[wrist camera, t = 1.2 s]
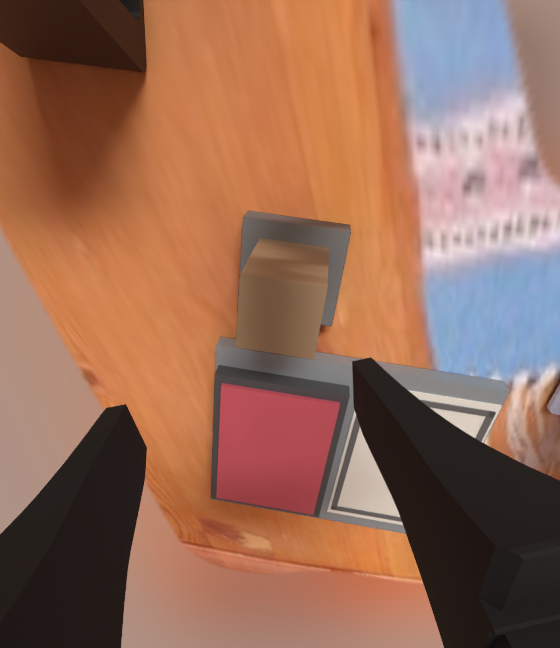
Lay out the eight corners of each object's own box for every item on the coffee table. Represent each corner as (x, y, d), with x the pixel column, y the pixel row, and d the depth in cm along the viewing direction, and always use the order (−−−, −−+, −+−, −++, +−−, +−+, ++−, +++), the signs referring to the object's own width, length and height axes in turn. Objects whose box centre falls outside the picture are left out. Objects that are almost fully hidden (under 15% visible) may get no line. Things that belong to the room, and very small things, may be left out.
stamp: (349, 224, 21) (356, 268, 15) (331, 314, 24) (331, 379, 18) (248, 210, 21) (218, 247, 16) (242, 300, 24) (214, 360, 18)
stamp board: (503, 381, 24) (519, 405, 22) (431, 526, 32) (437, 555, 30) (220, 336, 25) (210, 356, 23) (214, 488, 33) (206, 513, 31)
